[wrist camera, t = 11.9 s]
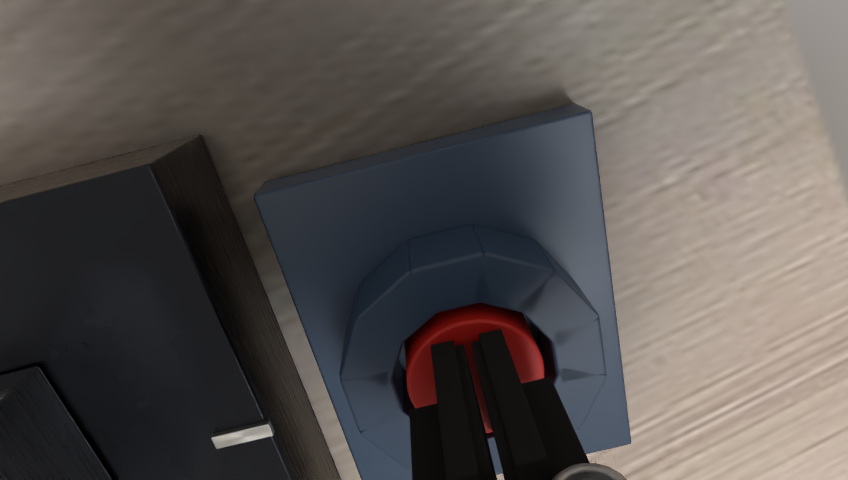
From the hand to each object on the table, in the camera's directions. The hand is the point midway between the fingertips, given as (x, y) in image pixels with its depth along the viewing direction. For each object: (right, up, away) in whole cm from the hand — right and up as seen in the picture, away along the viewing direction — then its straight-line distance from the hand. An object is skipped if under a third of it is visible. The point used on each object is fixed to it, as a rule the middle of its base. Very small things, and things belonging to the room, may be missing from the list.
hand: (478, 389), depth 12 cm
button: (0, +1, +2) cm, 2 cm away
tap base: (-10, -1, +3) cm, 11 cm away
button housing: (0, +1, +3) cm, 3 cm away
